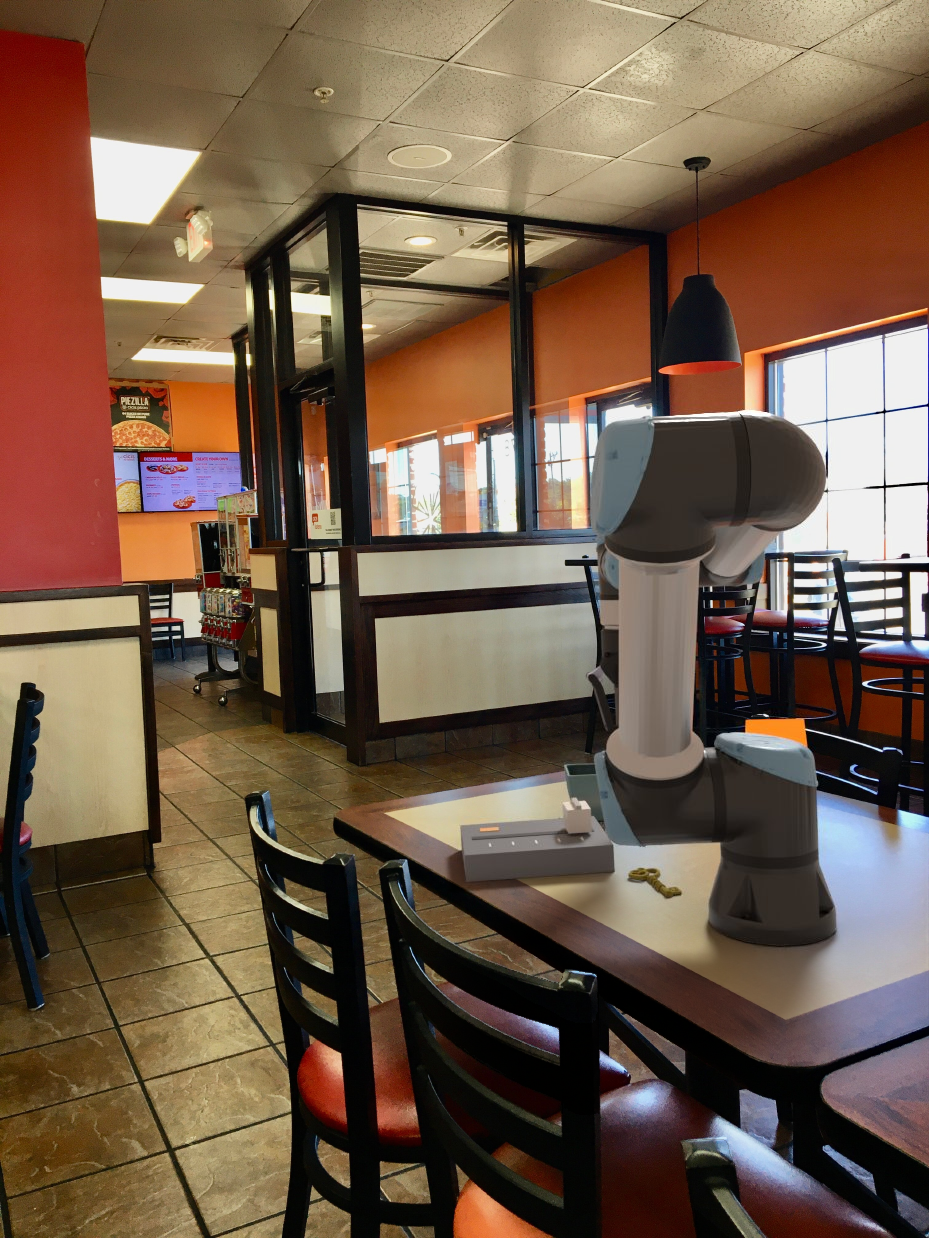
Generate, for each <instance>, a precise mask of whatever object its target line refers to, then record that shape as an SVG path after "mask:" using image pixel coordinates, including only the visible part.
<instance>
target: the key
mask: <svg viewBox="0 0 929 1238" xmlns="http://www.w3.org/2000/svg"><path fill="white" fill-rule="evenodd" d="M650 873H653V874H651V875H650ZM627 875H628V878H629V879H632V880H639V881H640V880H642V881H646V882H648V883H649V885H652V887H654V889H655V890H656V891H658V892H660V893H662V894H663V896H664V897H665V898H672V897H673V896H676V895H682V893H683V891H682V889H680V888H679V887H677V886H673V887H672V886H671V887H667V886H666V885H665V884H664V883H663V882H661V881H660V880H659V879H658V878H660V876H661V871H660V870H659V869H658V868H656V867H653V868H652V867H650V868H649V867H648V868H644V867H638V868H637V869H633V870H630V871H629V873H628V874H627Z"/></svg>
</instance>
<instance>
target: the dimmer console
mask: <svg viewBox="0 0 929 1238" xmlns="http://www.w3.org/2000/svg"><path fill="white" fill-rule="evenodd" d="M591 825H592V832H584V833H570V834H568V832H567V830H566V828H565V826H564V822H563V817H561V818H558V817H557V818H548V819H547V818H546V819H533V820H532V819H531V820H530V819H529V820H516V821H515V820H514V821H503V822H491V823H490V822H489V823H474V824H460V825H459V827H460V843H461V845H460V846H461V853H462V861H463V869H464V876H465V882H466V883H470V882H472V883H473V882H483V881H484V882H485V881H487V882H488V881H496V880H498V881H499V880H507V879H508V880H512V879H515V880H516V879H526V878H529V879H530V878H540V877H542V878H543V877H554V876H568V875H580V874H581V875H582V874H583V875H584V874H585V875H586V874H595V873H596V874H598V873H611V872H615V870H616V869H615V868H616V867H615V852H614V851H615V850H614V843H613V842H612V841H611V840H610V839H609V838H608V836H607V833H606V831H604V829H603V827H602V826H601V825H600V823H599V821H597V820H596V818H595V817H594V816H591Z"/></svg>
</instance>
